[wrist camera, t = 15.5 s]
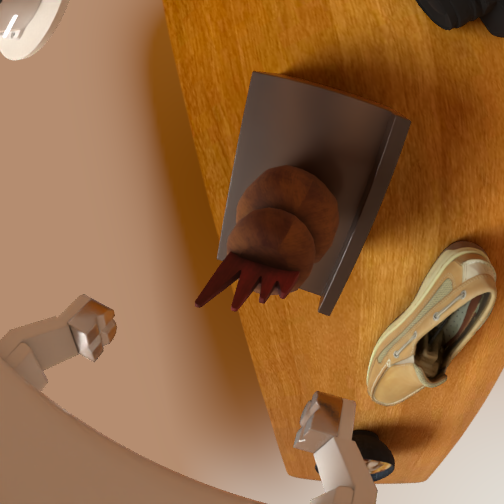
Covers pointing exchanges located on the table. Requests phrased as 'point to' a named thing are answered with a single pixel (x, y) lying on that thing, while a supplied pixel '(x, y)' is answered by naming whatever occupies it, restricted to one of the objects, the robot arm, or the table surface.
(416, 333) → the boat shoe
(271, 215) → the wooden figurine
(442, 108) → the table surface
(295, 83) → the display shelf
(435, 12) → the film camera
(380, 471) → the bowl
